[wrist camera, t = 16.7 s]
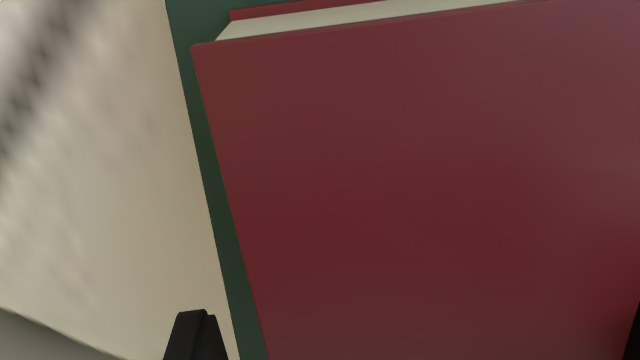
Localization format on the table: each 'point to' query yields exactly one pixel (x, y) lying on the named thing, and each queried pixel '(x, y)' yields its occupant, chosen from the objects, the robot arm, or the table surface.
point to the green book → (216, 160)
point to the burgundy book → (433, 175)
